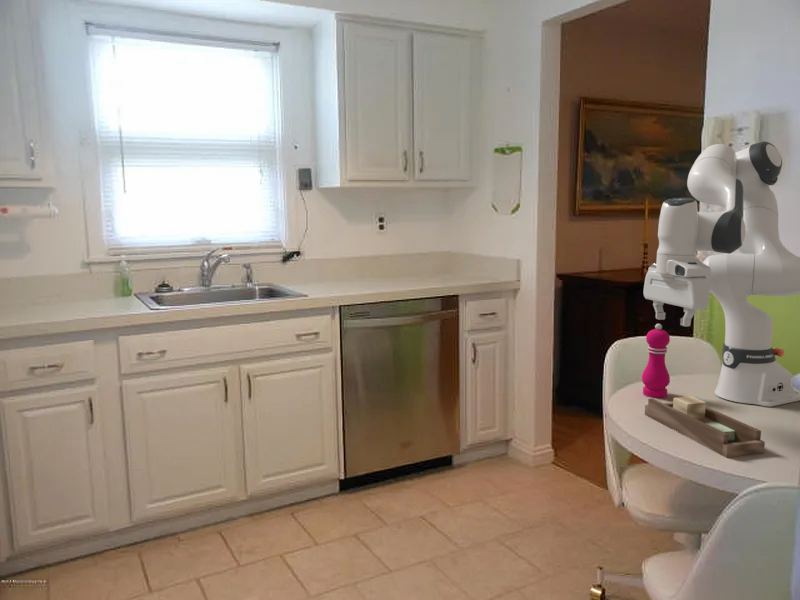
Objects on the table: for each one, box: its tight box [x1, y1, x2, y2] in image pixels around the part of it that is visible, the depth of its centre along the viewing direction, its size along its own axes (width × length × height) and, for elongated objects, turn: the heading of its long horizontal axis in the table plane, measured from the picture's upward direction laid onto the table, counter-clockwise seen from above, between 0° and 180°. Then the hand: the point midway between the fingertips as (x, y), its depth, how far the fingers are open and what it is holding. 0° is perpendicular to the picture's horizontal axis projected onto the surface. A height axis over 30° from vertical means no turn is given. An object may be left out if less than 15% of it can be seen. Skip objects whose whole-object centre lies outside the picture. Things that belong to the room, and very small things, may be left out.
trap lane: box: [644, 395, 766, 458], centre depth 151 cm, size 9×28×4 cm, turn 14°
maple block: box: [672, 395, 707, 420], centre depth 155 cm, size 5×5×4 cm
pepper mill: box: [641, 323, 671, 399], centre depth 179 cm, size 7×7×20 cm
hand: (672, 322), depth 159 cm, fingers open, 8 cm apart
